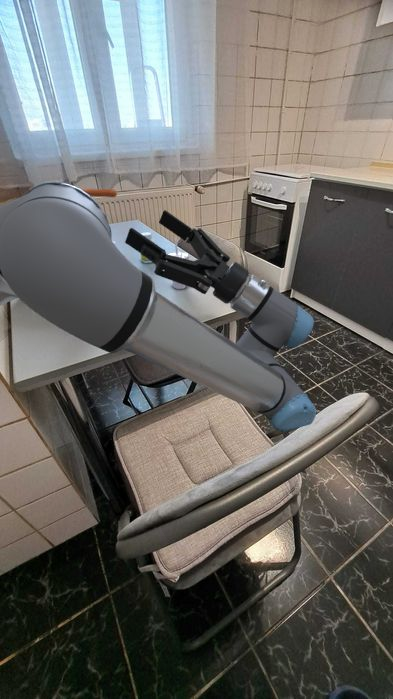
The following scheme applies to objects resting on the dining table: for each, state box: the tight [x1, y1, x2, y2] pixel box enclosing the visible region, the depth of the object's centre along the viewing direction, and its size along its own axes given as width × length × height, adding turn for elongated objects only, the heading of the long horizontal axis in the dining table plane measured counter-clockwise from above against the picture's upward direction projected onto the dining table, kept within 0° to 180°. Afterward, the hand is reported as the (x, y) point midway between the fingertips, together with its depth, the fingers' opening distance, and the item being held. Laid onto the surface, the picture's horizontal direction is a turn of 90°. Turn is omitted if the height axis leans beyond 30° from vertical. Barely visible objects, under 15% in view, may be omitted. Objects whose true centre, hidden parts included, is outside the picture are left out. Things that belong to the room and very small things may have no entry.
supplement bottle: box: [140, 231, 155, 264], centre depth 106 cm, size 5×5×10 cm
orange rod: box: [28, 186, 118, 198], centre depth 56 cm, size 20×1×1 cm, turn 71°
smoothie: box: [167, 238, 190, 290], centre depth 86 cm, size 6×6×14 cm
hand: (146, 224), depth 55 cm, fingers open, 13 cm apart
